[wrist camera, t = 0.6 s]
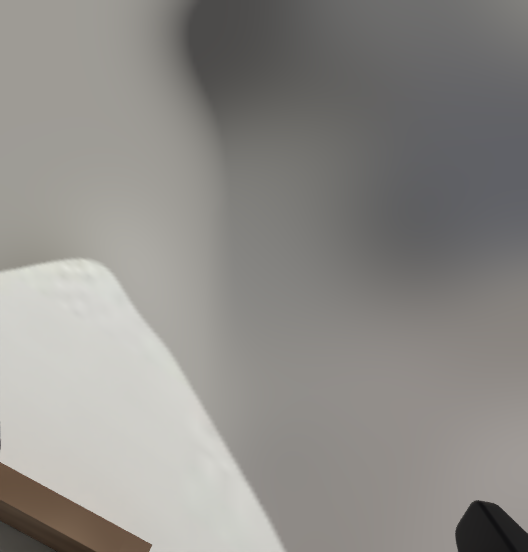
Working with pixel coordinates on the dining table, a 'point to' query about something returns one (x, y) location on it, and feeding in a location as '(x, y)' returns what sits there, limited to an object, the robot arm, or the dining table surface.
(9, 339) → the dining table surface
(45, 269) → the dining table surface
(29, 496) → the brown angular open frame
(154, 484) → the dining table surface
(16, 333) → the dining table surface
